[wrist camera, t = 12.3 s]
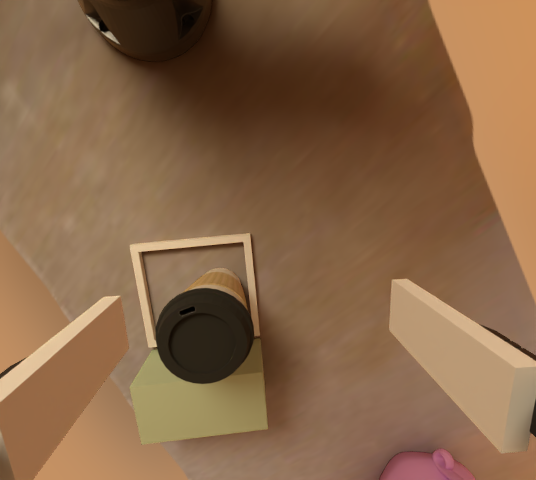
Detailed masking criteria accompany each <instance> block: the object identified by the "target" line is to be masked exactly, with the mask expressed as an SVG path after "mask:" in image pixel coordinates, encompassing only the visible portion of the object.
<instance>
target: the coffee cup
mask: <svg viewBox="0 0 536 480" xmlns="http://www.w3.org/2000/svg"><path fill="white" fill-rule="evenodd" d="M155 337H156V345H157V349H158V354H159V356H160V359H161V361H162V362H163V364H164V366H165V367H166V368H167V369H168V370H169V371H170V372H171V373H172V374H174V375H175V376H176V377H178V378H180V379H182V380H184V381H187V382H191V383H196V384H209V383H214V382H218V381H221V380H223V379H225V378H227V377H228V376H230V375H231V374H233V373H234V372H235V371H236V370H237V369H238V368H239V367H240V366H241V365H242V363H243V362H244V361H245V360H246V358H247V356H248V355H249V353H250V350H251V348H252V345H253V340H254V325H253V322H252V318H251V316H250V314H249V312H248V308H247V304H246V299H245V295H244V291H243V288H242V286H241V283H240V280H239V278H238V277H237V275H236V274H235V273H234V272H232V271H230V270H228V269H225V268H215V269H212V270H210V271H208V272H207V273H205V274H204V275H203V276H201V277H200V278H199V279H197V280H196V281H195V282H194V283H193V284H192V285H191V286H190V287H189V288H187V289H186V290H185V291H184V292H183V293H181V294H179V295H177V296H176V297H175V298H173V299H172V300H171V301H170V302H169V303H168V304H167V305H166V306H165V307H164V309H163V310H162V312H161V314H160V316H159V319H158V322H157V326H156V334H155Z"/></svg>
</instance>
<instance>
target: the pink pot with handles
mask: <svg viewBox="0 0 536 480" xmlns="http://www.w3.org/2000/svg"><path fill="white" fill-rule="evenodd" d="M379 480H475V478H474V477H473V475H472V474H471V472H470V471H469V470H468V469H467V468H466V467H465V466H463V465H462V464H460V463H459V462H457V461H455V460H453V457H452V456H451V454H450V453H449V452H448V451H446V450H444V449H442V448H440V449H437V450H435V451H434V453H426V452H401V453H399V454H397V455H395V456H394V457H393V458H392V459H391V460H390V461H389V463H388V464H387V466H386V467H385V469H384V471H383V473H382V474H381V476H380V479H379Z"/></svg>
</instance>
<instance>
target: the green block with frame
mask: <svg viewBox="0 0 536 480" xmlns="http://www.w3.org/2000/svg"><path fill="white" fill-rule="evenodd" d="M237 242H244V251H245V261H246V271H247V280H248V290H249V299H250V309H251V318H252V322H253V325H254V336H260V329H259V319H258V309H257V299H256V288H255V278H254V268H253V258H252V248H251V238H250V233H245V234H234V235H223V236H213V237H202V238H191V239H181V240H170V241H159V242H149V243H138V244H132V245H130V251H131V256H132V261H133V267H134V272H135V277H136V283H137V288H138V293H139V299H140V304H141V309H142V315H143V320H144V325H145V331H146V336H147V341H148V347H149V348H151V347H157V345H156V337H155V334H156V331H155V325H154V320H153V314H152V308H151V303H150V297H149V292H148V286H147V281H146V275H145V269H144V264H143V258H142V253H141V252H142V251H153V250H164V249H174V248H185V247H195V246H206V245H216V244H227V243H237ZM130 392H131V397H132V401H133V406H134V411H135V416H136V421H137V425H138V430H139V435H140V439H141V444H150V443H158V442H166V441H175V440H183V439H191V438H199V437H207V436H216V435H224V434H232V433H240V432H248V431H257V430H265V429H268V420H267V405H266V390H265V379H264V369H263V359H262V349H261V339H260V338H257V339H254V340H253V345H252V348H251V350H250V353H249V355H248V356H247V358H246V360H245V361H244V362H243V363H242V365H241V366H240V367H239V368H238V369H237V370H236V371H235V372H234V373H233V374H231V375H230V376H228V377H227V378H225V379H223V380H221V381H218V382H214V383H209V384H196V383H191V382H187V381H184V380H182V379H180V378H178V377H176V376H175V375H174V374H172V373H171V372H170V371H169V370H168V369H167V368H166V367H165V366H164V364H163V362H162V361H161V359H160V356H159V354H158V349H156V350H152V351H151V353H150V354H149V356H148V358H147V359H146V361H145V363H144V364H143V366H142V368H141V369H140V371H139V373H138V374H137V376H136V377H135V379H134V381H133V382H132V384H131V386H130Z"/></svg>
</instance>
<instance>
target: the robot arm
mask: <svg viewBox="0 0 536 480" xmlns="http://www.w3.org/2000/svg"><path fill="white" fill-rule="evenodd" d="M78 2H79V5H80V6H81V8H82V10H83V12H84V14H85V15H86V17H87V18H88V20H89V21H90V23H91V24H92V25H93V26H94V28H95V29H96V30H97V31H98V32H99V33H100V34H101V35H102V36H103V37H104V38H105V39H106V40H107V41H108V42H109V43H110V44H111V45H112V46H114V47H115V48H116V49H118V50H119V51H121V52H122V53H124V54H126V55H128V56H130V57H133V58H136V59H139V60H144V61H164V60H169V59H172V58H175V57H177V56H179V55H181V54H183V53H184V52H186V51H187V50H188V49H190V48H191V47H192V46H193V45H194V44H195V43H196V42H197V40H198V39H199V38H200V36H201V35H202V33H203V31H204V29H205V27H206V25H207V22H208V19H209V16H210V11H211V4H212V0H78ZM389 331H390V332H391V333H392V334H393V335H394V336H395V337H396V338H397V340H398V341H399V342H400V343H401V344H402V345H403V346H404V347H405V348H406V349H407V351H408V352H409V353H410V354H411V355H412V356H413V357H414V358H415V359H416V360H417V362H418V363H419V364H420V365H421V366H422V367H423V368H424V369H425V370H426V371H427V372H428V374H429V375H430V376H431V377H432V378H433V379H434V380H435V381H436V382H437V383H438V385H439V386H440V387H441V388H442V389H443V390H444V391H445V392H446V393H447V394H448V396H449V397H450V398H451V399H452V400H453V401H454V402H455V403H456V404H457V405H458V407H459V408H460V409H461V410H462V411H463V412H464V413H465V414H466V415H467V416H468V417H469V419H470V420H471V421H472V422H473V423H474V424H475V425H476V426H477V427H478V428H479V430H480V431H481V432H482V433H483V434H484V435H485V436H486V437H487V438H488V439H489V441H490V442H491V443H492V444H493V445H494V446H495V447H496V448H497V449H498V450H499V451H500V453H511V452H522V451H527V449H528V443H529V438H530V433H532V434H533V435H534V436H535V437H536V355H534V354H532V353H531V352H529V351H527V350H526V349H524V348H521V346H519V345H518V344H516V343H515V342H513V341H510V339H508V338H507V337H505V336H503V335H502V334H500V333H498V332H497V331H495V330H492V329H490V328H487V327H485V326H482V325H480V324H477V323H476V322H474V321H472V320H471V319H469V318H468V317H466V316H465V315H463V314H461V313H460V312H458V311H457V310H455V309H454V308H452V307H450V306H449V305H447V304H446V303H444V302H443V301H441V300H439V299H438V298H436V297H435V296H433V295H432V294H430V293H429V292H427V291H425V290H424V289H422V288H421V287H419V286H418V285H416V284H414V283H413V282H411V281H410V280H408V279H394V280H392V286H391V304H390V321H389ZM128 349H129V344H128V338H127V332H126V326H125V320H124V314H123V307H122V301H121V296H109V297H103V298H102V299H101V300H99V301H98V302H97V303H96V304H94V305H93V306H92V307H90V308H89V309H88V310H87V311H85V312H84V313H83V314H82V315H80V316H79V317H78V318H77V319H75V320H74V321H73V322H72V323H70V324H69V325H68V326H67V327H65V328H64V329H63V330H61V331H60V332H59V333H58V334H56V335H55V336H54V337H53V338H51V339H50V340H49V341H48V342H47V343H45V344H44V345H43V346H41V347H40V348H39V349H38V350H36V351H35V352H34V353H32V354H31V355H30V356H28V357H27V358H25V359H23V360H21V361H19V362H17V363H15V364H14V365H12V366H10V367H9V368H8V369H6V370H5V371H4V372H2V373H1V374H0V480H33V479H34V478H35V476H36V475H37V474H38V472H39V471H40V470H41V468H42V467H43V465H44V464H45V463H46V461H47V460H48V459H49V457H50V456H51V454H52V453H53V452H54V450H55V449H56V448H57V446H58V445H59V443H60V442H61V441H62V439H63V438H64V436H65V435H66V434H67V433H68V431H69V430H70V428H71V427H72V426H73V424H74V423H75V422H76V420H77V418H78V417H79V416H80V415H81V413H82V412H83V411H84V409H85V408H86V406H87V405H88V404H89V402H90V401H91V399H92V398H93V397H94V395H95V394H96V393H97V391H98V390H99V389H100V387H101V386H102V384H103V383H104V382H105V380H106V379H107V378H108V376H109V375H110V374H111V372H112V371H113V369H114V368H115V367H116V365H117V364H118V363H119V361H120V360H121V358H122V357H123V356H124V354H125V353H126V352H127V350H128Z"/></svg>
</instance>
